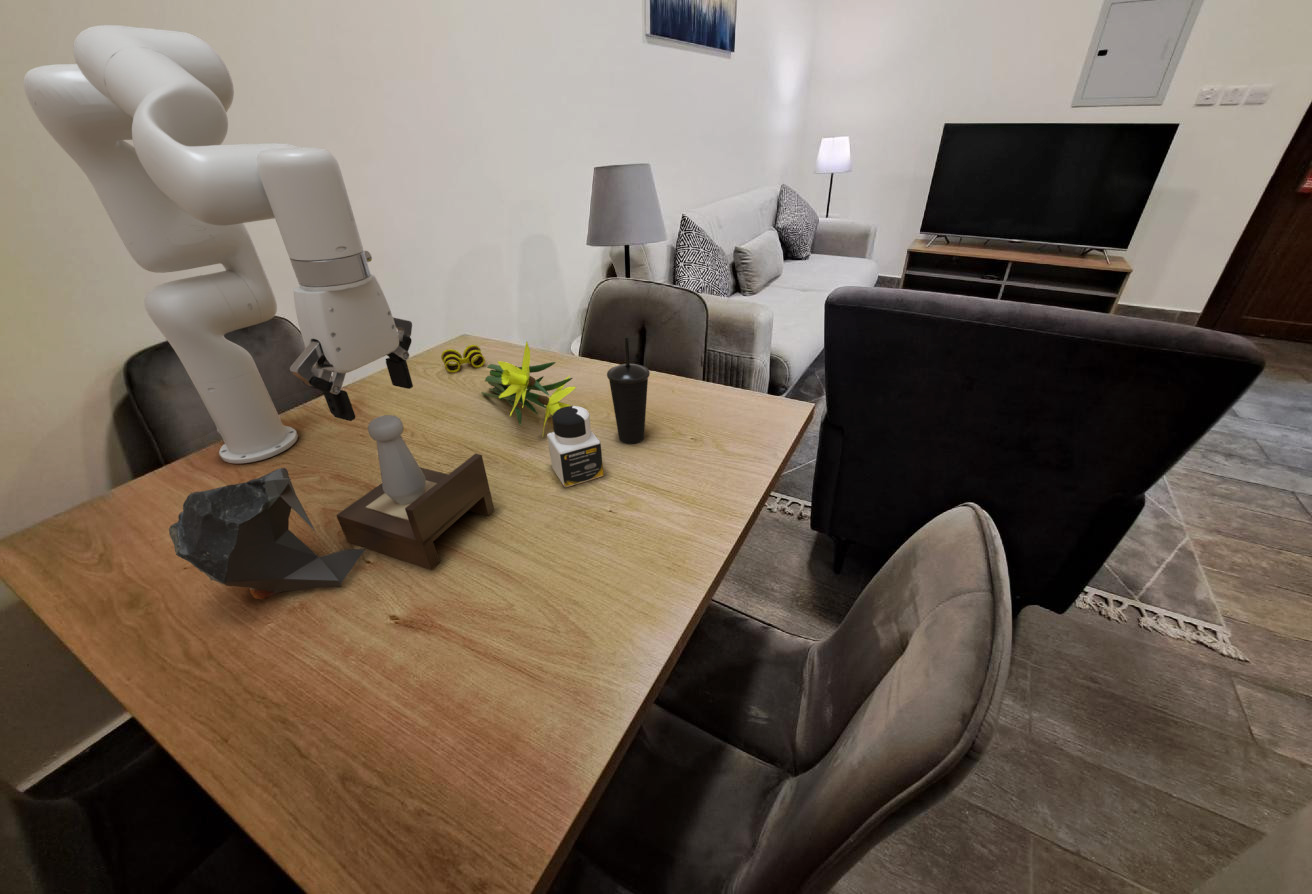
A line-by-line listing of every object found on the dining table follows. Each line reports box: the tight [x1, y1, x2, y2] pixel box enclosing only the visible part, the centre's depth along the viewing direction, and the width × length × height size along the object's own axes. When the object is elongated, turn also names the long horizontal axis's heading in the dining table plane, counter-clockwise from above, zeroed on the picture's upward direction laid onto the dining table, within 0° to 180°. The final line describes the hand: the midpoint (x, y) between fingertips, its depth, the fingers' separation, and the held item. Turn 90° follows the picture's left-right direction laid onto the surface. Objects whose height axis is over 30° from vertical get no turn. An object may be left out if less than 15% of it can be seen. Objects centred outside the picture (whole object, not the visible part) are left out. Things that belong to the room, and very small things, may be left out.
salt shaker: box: [367, 414, 426, 505], centre depth 75 cm, size 6×6×13 cm
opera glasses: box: [440, 344, 486, 373], centre depth 132 cm, size 10×5×5 cm, turn 118°
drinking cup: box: [606, 337, 651, 445], centre depth 96 cm, size 8×8×20 cm
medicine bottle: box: [546, 405, 604, 488], centre depth 89 cm, size 7×7×12 cm
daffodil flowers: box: [480, 340, 577, 438], centre depth 106 cm, size 17×15×35 cm
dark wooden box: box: [335, 453, 496, 571], centre depth 78 cm, size 16×14×10 cm
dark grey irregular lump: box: [168, 467, 367, 600], centre depth 67 cm, size 14×15×18 cm
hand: (375, 401), depth 70 cm, fingers open, 9 cm apart
